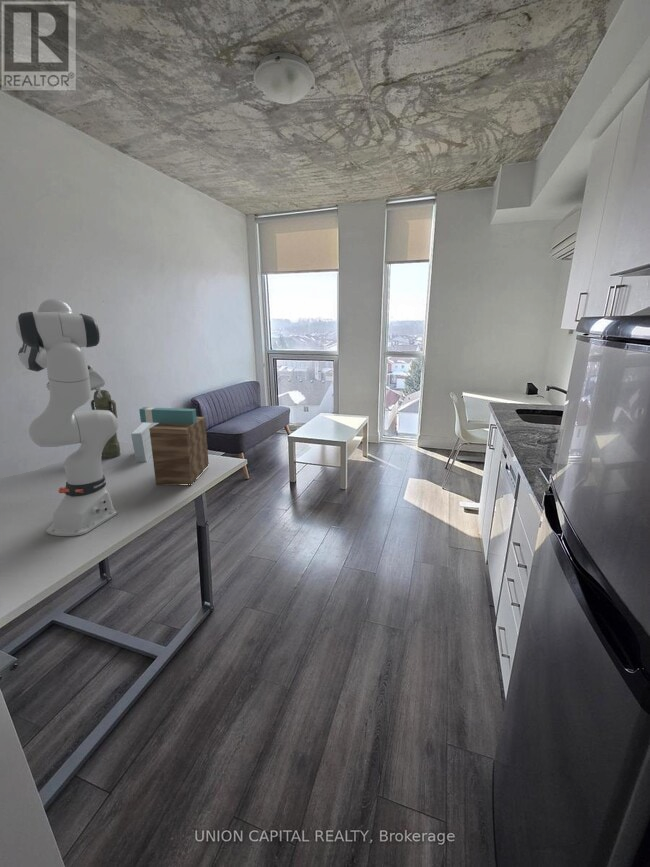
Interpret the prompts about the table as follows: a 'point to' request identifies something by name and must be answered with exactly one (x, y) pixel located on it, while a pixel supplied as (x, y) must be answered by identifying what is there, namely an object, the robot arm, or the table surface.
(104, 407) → the thermos
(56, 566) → the table surface
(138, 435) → the skincare box
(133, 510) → the table surface
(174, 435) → the brown wooden box
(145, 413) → the teal rectangular bar
